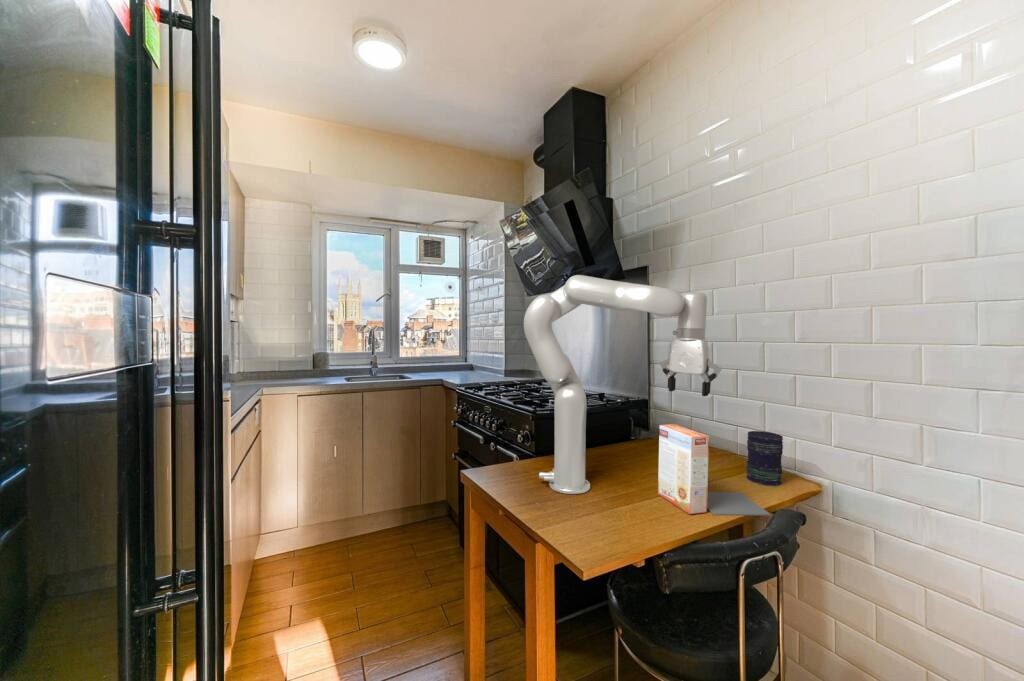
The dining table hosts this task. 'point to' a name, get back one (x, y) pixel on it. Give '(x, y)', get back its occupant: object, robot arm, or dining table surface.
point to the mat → (733, 504)
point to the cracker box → (683, 468)
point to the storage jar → (764, 458)
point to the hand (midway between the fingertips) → (688, 393)
